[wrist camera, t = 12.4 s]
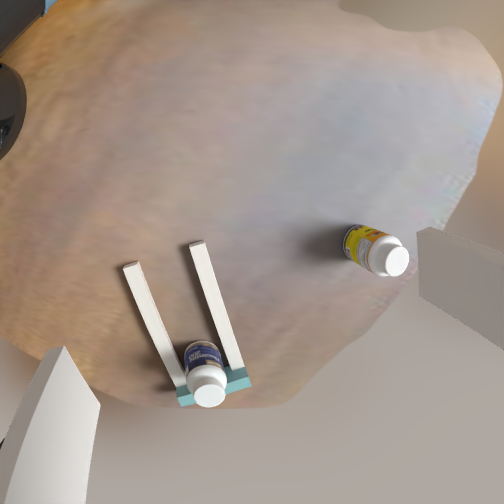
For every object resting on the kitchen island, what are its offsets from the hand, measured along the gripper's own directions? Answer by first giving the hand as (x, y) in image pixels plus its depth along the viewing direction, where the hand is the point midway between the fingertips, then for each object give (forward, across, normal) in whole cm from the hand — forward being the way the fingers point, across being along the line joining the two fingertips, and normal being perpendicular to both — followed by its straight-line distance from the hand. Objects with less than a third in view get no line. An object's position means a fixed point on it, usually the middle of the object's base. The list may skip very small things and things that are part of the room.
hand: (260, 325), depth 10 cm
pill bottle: (+32, -6, -21) cm, 39 cm away
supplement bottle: (+32, +21, -12) cm, 40 cm away
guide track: (+32, -6, -16) cm, 36 cm away
